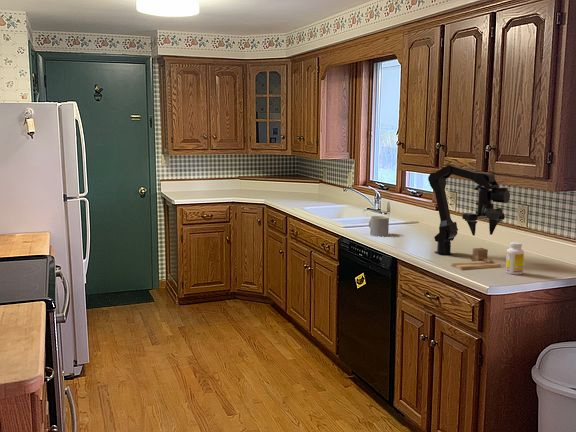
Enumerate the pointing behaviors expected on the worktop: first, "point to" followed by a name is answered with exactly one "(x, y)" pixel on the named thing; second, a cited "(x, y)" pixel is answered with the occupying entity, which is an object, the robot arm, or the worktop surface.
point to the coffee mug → (379, 226)
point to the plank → (474, 265)
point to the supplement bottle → (514, 259)
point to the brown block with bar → (480, 255)
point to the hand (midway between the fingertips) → (482, 235)
